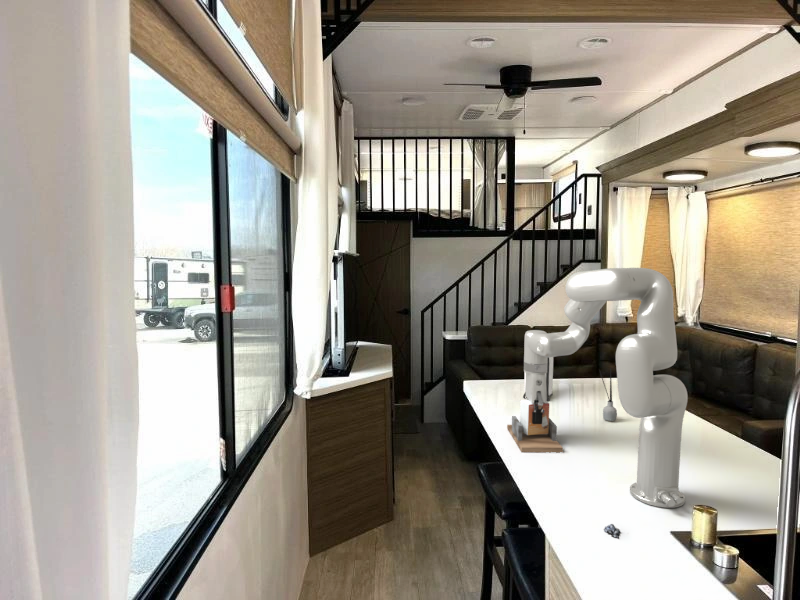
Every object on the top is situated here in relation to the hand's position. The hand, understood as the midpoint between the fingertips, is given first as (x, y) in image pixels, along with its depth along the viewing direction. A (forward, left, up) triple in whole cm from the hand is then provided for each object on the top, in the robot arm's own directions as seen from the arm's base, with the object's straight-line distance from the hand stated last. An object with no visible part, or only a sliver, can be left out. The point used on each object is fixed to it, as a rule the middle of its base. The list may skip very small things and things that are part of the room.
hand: (534, 419), depth 169 cm
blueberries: (-57, -4, -8) cm, 58 cm away
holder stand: (0, 0, -7) cm, 7 cm away
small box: (0, 0, -4) cm, 4 cm away
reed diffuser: (+22, -33, -7) cm, 41 cm away
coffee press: (+52, -15, -7) cm, 55 cm away
